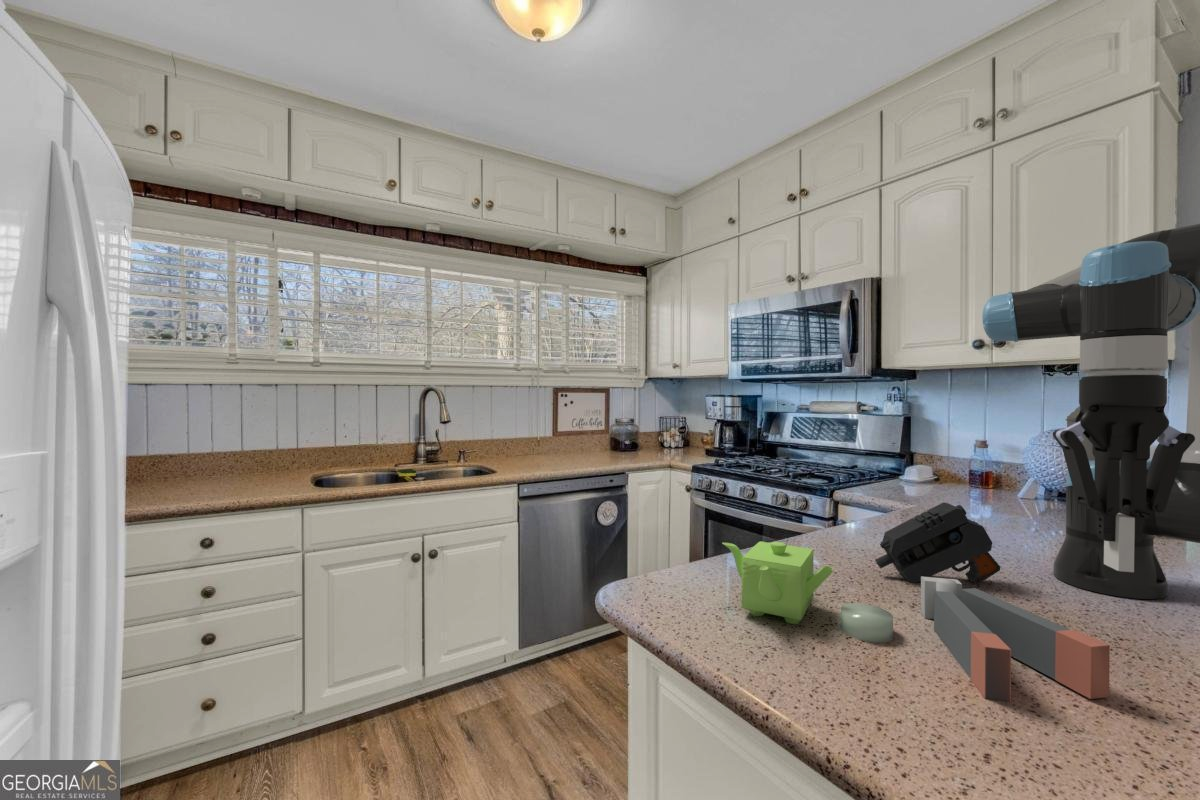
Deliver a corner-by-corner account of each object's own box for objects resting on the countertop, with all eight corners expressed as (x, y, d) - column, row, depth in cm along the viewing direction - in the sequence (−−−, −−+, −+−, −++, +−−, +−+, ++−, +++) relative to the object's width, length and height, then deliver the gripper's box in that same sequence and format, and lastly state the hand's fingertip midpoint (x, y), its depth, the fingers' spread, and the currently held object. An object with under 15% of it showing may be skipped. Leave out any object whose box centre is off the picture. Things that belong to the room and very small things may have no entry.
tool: (1014, 574, 94) (968, 501, 95) (912, 619, 97) (870, 547, 98) (995, 563, 100) (953, 494, 101) (900, 605, 103) (860, 538, 104)
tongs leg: (960, 628, 78) (960, 588, 78) (975, 627, 78) (975, 587, 78) (1090, 699, 60) (1090, 646, 60) (1109, 696, 60) (1109, 645, 60)
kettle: (762, 636, 76) (761, 560, 76) (716, 599, 90) (716, 535, 90) (847, 623, 80) (847, 552, 80) (791, 590, 94) (790, 529, 94)
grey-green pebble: (886, 625, 80) (886, 606, 80) (898, 646, 74) (898, 625, 74) (837, 619, 82) (837, 601, 82) (844, 640, 76) (845, 619, 76)
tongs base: (920, 613, 84) (920, 572, 84) (957, 616, 83) (957, 575, 83) (984, 698, 61) (984, 642, 61) (1037, 705, 59) (1037, 648, 59)
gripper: (1165, 375, 64) (1162, 563, 65) (1040, 375, 68) (1038, 554, 68) (1217, 372, 57) (1214, 584, 58) (1074, 373, 61) (1071, 572, 61)
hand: (1118, 567), depth 63 cm, fingers closed
